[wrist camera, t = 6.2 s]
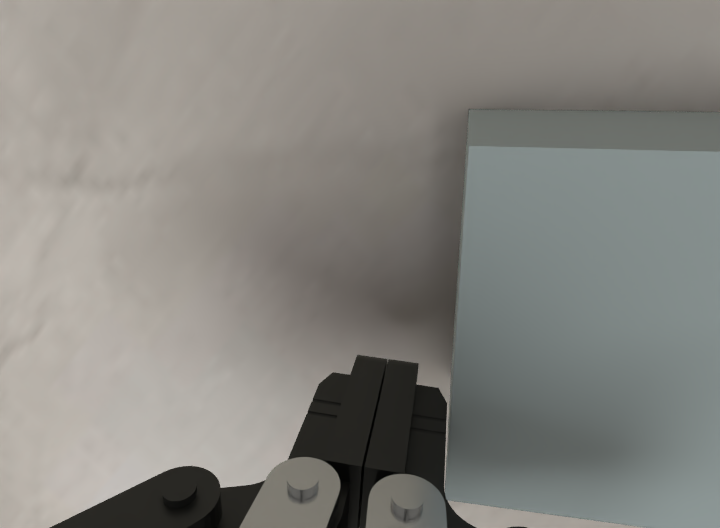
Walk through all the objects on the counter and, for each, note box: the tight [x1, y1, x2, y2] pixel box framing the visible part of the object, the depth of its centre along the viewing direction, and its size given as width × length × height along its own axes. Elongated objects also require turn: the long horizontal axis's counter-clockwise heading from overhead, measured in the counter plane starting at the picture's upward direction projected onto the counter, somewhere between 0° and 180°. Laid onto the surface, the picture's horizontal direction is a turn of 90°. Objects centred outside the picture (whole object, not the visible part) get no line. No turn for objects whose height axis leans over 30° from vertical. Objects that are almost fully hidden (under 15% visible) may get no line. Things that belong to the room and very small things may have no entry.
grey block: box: [445, 109, 720, 528], centre depth 12 cm, size 8×10×5 cm
